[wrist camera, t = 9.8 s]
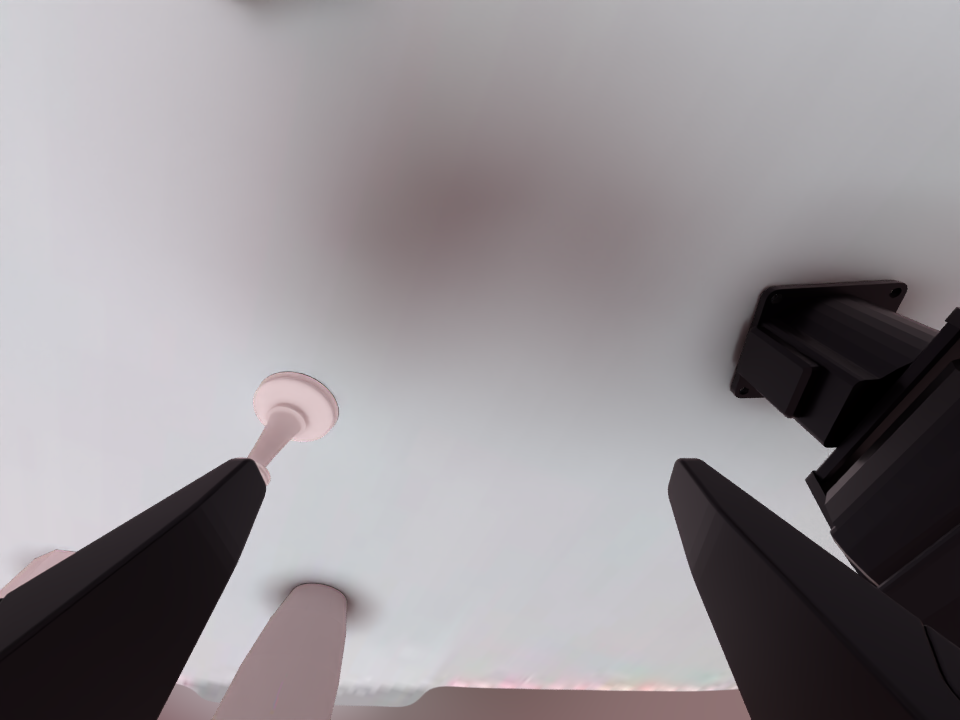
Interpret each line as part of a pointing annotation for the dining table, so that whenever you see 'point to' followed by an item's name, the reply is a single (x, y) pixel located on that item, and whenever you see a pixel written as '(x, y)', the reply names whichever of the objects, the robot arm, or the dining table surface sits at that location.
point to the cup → (292, 661)
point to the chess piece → (290, 414)
